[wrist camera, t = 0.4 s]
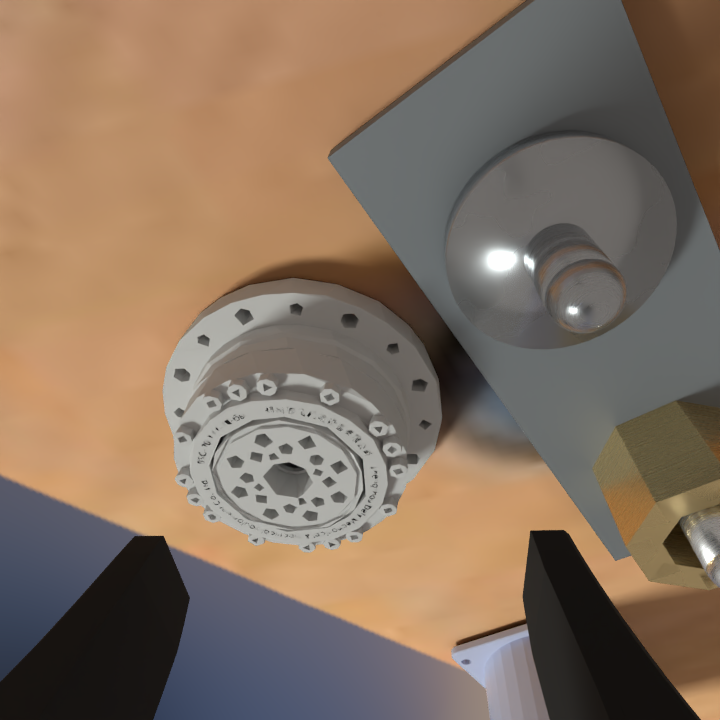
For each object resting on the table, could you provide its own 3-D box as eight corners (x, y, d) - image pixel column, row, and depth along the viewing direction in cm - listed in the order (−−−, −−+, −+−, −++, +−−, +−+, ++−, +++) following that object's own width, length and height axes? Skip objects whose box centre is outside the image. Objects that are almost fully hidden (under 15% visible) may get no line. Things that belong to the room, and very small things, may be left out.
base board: (797, 473, 21) (814, 492, 20) (607, 541, 24) (615, 560, 23) (587, -47, 13) (601, -50, 12) (331, 149, 15) (327, 158, 15)
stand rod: (699, 463, 20) (788, 596, 15) (655, 480, 20) (729, 613, 16) (685, 435, 19) (773, 565, 15) (639, 453, 20) (711, 584, 15)
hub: (691, 267, 16) (779, 344, 12) (504, 363, 18) (532, 453, 14) (610, 77, 13) (691, 103, 10) (403, 216, 15) (406, 280, 12)
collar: (762, 473, 20) (827, 554, 17) (627, 522, 22) (664, 603, 19) (721, 380, 18) (785, 454, 15) (575, 443, 19) (607, 520, 17)
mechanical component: (470, 456, 22) (385, 232, 17) (485, 547, 18) (384, 295, 13) (252, 509, 24) (123, 326, 19) (226, 599, 20) (59, 401, 16)
